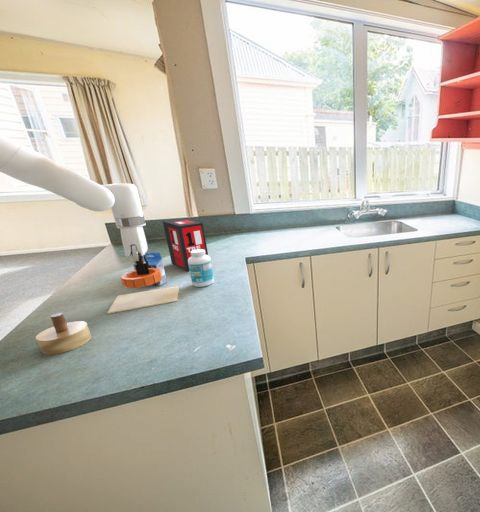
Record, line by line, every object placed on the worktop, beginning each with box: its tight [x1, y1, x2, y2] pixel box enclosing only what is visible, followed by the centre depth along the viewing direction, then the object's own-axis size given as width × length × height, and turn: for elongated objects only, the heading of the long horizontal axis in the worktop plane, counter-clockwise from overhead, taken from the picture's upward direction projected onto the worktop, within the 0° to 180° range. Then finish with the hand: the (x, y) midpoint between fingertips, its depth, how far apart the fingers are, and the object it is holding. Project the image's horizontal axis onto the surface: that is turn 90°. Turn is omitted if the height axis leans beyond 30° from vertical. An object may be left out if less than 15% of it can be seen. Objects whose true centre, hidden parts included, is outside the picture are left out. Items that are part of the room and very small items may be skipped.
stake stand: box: [35, 312, 92, 356], centre depth 76 cm, size 9×9×8 cm
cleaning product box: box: [162, 217, 209, 272], centre depth 132 cm, size 16×9×20 cm, turn 56°
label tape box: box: [133, 251, 168, 286], centre depth 112 cm, size 9×4×12 cm, turn 90°
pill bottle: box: [188, 249, 215, 288], centre depth 113 cm, size 8×7×14 cm
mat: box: [106, 285, 180, 315], centre depth 102 cm, size 18×14×1 cm
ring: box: [120, 268, 162, 289], centre depth 100 cm, size 10×10×3 cm
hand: (144, 273), depth 103 cm, fingers closed on ring, 1 cm apart
